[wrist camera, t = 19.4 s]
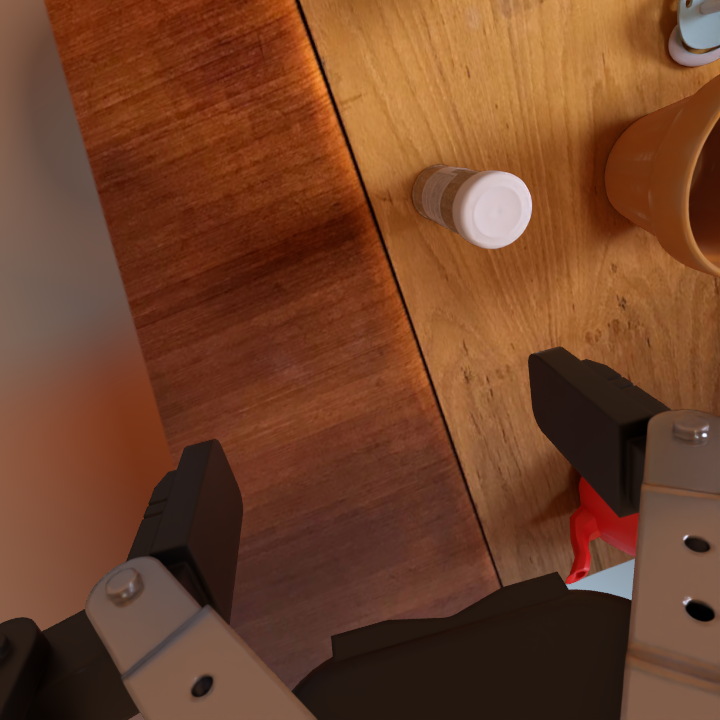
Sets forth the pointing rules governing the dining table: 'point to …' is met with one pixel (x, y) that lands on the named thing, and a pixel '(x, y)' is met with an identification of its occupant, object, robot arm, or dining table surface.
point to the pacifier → (696, 32)
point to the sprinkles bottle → (474, 203)
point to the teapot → (598, 530)
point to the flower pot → (673, 177)
